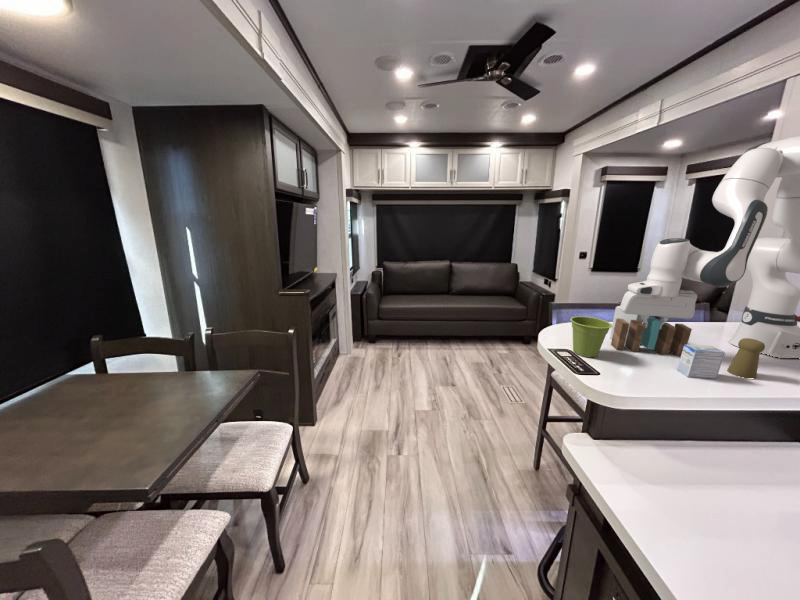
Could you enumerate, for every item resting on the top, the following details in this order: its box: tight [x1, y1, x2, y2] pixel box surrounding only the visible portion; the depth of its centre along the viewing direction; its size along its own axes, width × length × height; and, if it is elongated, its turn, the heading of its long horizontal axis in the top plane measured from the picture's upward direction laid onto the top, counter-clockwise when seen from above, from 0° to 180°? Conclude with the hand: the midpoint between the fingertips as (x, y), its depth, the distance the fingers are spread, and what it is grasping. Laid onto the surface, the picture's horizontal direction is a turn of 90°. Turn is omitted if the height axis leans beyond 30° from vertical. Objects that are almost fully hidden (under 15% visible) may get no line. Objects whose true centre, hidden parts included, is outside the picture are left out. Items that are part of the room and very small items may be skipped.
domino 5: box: [669, 323, 693, 358], centre depth 106 cm, size 2×5×10 cm, turn 168°
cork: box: [726, 338, 765, 379], centre depth 93 cm, size 6×6×11 cm
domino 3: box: [640, 316, 661, 350], centre depth 108 cm, size 2×5×10 cm, turn 168°
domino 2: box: [624, 320, 645, 353], centre depth 109 cm, size 2×5×10 cm, turn 167°
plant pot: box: [570, 315, 613, 358], centre depth 104 cm, size 12×12×11 cm
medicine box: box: [676, 344, 726, 379], centre depth 92 cm, size 8×4×9 cm, turn 84°
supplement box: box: [609, 304, 643, 343], centre depth 117 cm, size 7×7×13 cm
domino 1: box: [610, 318, 630, 352], centre depth 110 cm, size 2×5×10 cm, turn 167°
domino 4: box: [653, 322, 676, 356], centre depth 107 cm, size 2×5×10 cm, turn 167°
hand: (651, 328), depth 107 cm, fingers closed on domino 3, 2 cm apart
